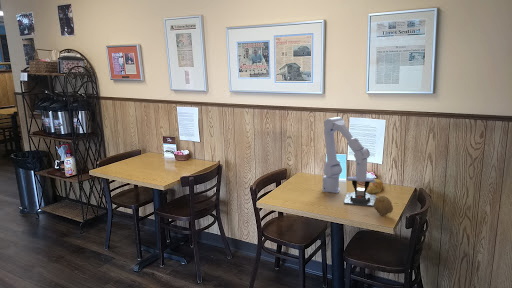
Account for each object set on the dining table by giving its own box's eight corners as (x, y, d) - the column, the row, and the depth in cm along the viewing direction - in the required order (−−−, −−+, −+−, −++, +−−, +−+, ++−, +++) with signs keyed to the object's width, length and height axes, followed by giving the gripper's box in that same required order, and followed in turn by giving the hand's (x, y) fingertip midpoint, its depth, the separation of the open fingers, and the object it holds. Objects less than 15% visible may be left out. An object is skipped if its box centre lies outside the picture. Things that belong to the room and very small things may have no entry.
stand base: (343, 204, 208) (344, 197, 207) (347, 194, 222) (347, 188, 221) (374, 207, 202) (374, 200, 202) (375, 196, 217) (376, 190, 216)
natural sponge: (370, 211, 197) (371, 193, 195) (387, 210, 198) (388, 192, 195) (376, 218, 188) (377, 199, 186) (394, 217, 189) (395, 198, 186)
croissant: (372, 201, 219) (378, 191, 216) (357, 191, 223) (363, 180, 220) (384, 190, 236) (390, 180, 232) (370, 180, 240) (376, 170, 236)
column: (355, 201, 211) (356, 190, 210) (356, 198, 215) (356, 187, 214) (364, 201, 210) (364, 190, 208) (364, 199, 214) (364, 188, 212)
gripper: (346, 171, 207) (346, 195, 210) (374, 173, 202) (373, 197, 205) (348, 167, 214) (347, 190, 217) (375, 169, 209) (374, 193, 212)
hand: (360, 194), depth 212 cm, fingers closed on column, 4 cm apart
